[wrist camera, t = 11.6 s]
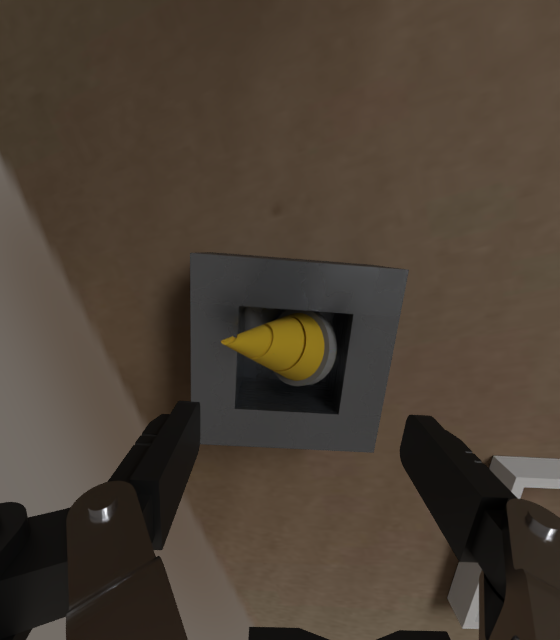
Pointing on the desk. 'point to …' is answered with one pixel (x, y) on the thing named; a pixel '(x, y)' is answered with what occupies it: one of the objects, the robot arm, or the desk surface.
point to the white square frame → (515, 478)
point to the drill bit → (291, 346)
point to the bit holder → (261, 382)
